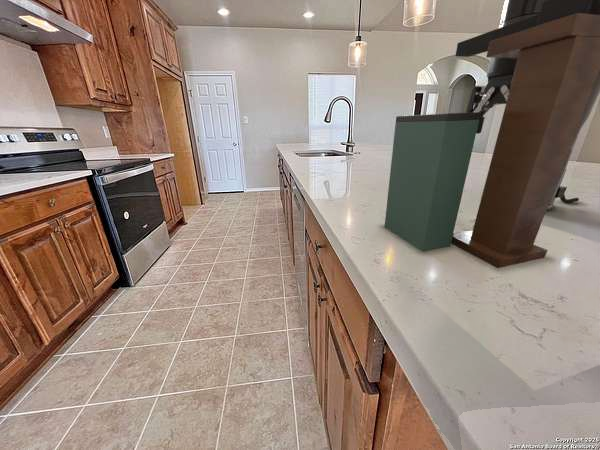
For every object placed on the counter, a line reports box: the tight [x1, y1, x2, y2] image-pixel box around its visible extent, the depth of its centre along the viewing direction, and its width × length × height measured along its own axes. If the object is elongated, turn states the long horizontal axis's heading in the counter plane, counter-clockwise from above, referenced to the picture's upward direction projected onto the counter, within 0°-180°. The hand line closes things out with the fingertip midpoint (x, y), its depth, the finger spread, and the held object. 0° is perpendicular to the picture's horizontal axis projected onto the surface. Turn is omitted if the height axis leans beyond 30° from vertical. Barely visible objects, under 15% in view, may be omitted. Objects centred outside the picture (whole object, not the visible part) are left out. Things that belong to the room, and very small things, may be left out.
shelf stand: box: [451, 13, 600, 269], centre depth 38 cm, size 10×11×32 cm
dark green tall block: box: [384, 112, 481, 252], centre depth 45 cm, size 6×12×22 cm, turn 15°
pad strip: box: [454, 0, 600, 58], centre depth 35 cm, size 4×18×3 cm, turn 15°
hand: (493, 134), depth 55 cm, fingers open, 8 cm apart
